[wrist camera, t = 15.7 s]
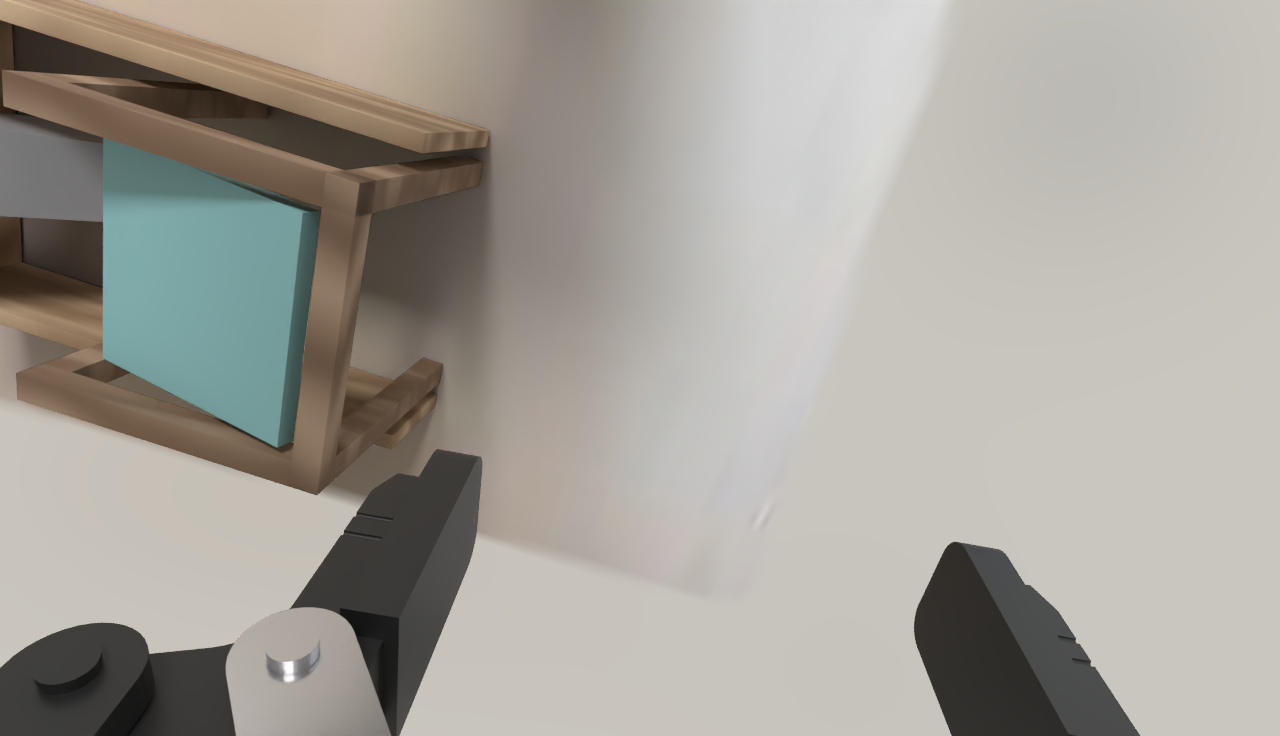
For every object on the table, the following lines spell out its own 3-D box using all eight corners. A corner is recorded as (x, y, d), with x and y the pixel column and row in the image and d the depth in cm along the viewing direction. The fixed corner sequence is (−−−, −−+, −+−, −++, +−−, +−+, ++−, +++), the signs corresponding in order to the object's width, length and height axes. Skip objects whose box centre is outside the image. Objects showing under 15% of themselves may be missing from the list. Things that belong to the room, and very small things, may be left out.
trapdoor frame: (-5, -26, 43) (-388, -104, 28) (489, 130, 43) (366, 135, 28) (9, 271, 50) (-291, 333, 36) (434, 406, 50) (312, 527, 35)
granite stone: (-134, 113, 35) (128, 146, 43) (-140, 92, 38) (107, 127, 46) (-123, 209, 37) (127, 223, 45) (-129, 181, 40) (107, 199, 48)
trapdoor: (124, 132, 33) (103, 131, 32) (320, 211, 31) (302, 212, 30) (121, 353, 38) (102, 358, 37) (293, 440, 35) (277, 447, 34)
